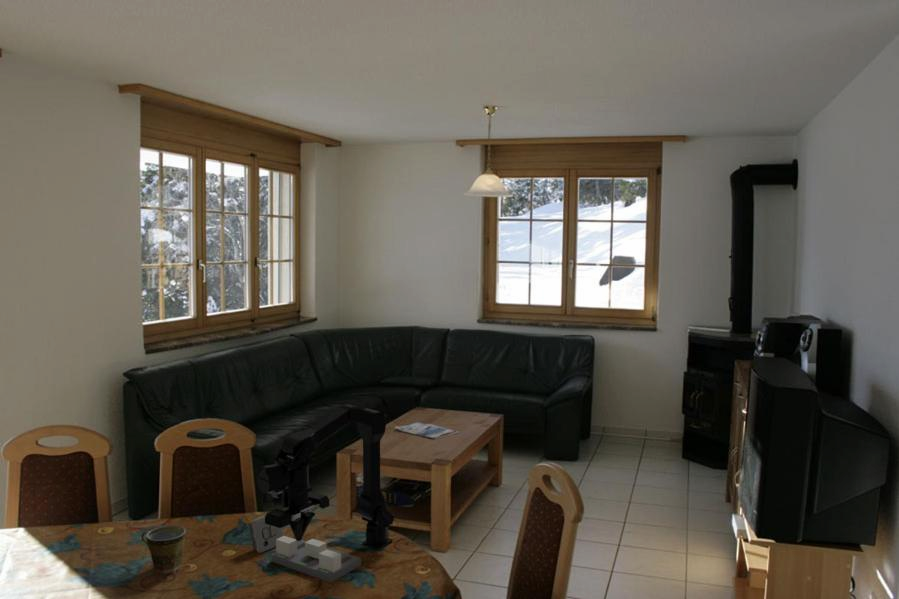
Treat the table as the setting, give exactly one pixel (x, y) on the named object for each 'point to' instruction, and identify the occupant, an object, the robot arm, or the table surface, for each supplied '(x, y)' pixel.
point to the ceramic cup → (165, 547)
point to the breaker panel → (313, 560)
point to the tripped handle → (314, 548)
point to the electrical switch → (263, 534)
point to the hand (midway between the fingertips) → (298, 540)
